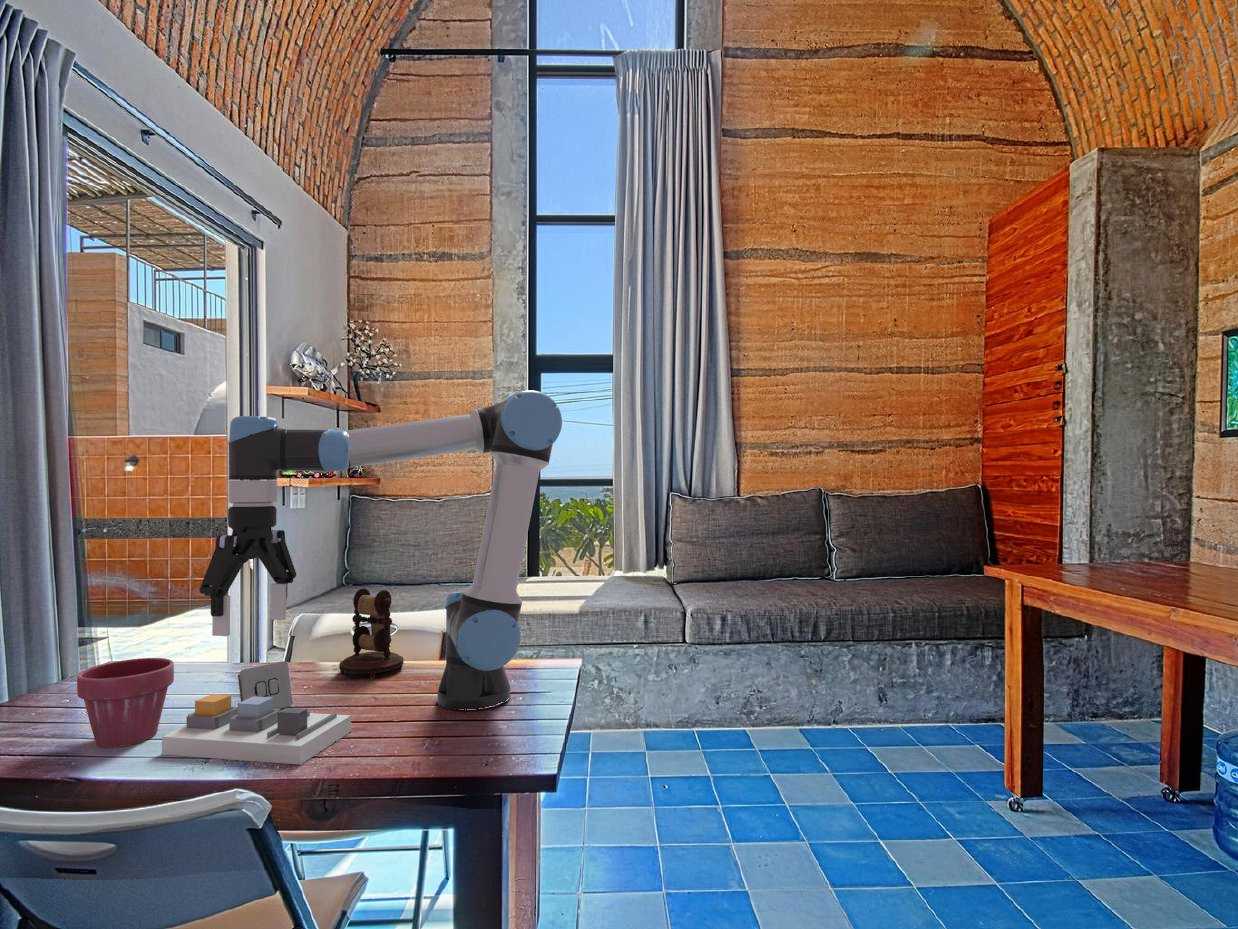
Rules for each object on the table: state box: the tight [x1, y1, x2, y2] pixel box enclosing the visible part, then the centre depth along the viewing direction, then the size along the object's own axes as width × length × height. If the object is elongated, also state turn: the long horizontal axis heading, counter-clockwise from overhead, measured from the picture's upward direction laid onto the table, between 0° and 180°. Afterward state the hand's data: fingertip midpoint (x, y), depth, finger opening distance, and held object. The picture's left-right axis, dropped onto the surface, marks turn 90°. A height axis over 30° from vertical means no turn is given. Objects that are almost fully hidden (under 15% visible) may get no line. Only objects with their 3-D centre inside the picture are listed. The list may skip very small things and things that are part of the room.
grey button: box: [237, 696, 273, 719], centre depth 124 cm, size 4×4×3 cm
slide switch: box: [277, 707, 308, 735], centre depth 119 cm, size 4×2×4 cm, turn 80°
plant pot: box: [76, 657, 175, 748], centre depth 126 cm, size 14×14×13 cm
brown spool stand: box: [338, 588, 405, 679], centre depth 170 cm, size 15×15×20 cm
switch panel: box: [161, 705, 352, 765], centre depth 123 cm, size 26×15×5 cm, turn 80°
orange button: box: [194, 693, 232, 716], centre depth 125 cm, size 4×4×3 cm
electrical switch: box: [237, 660, 294, 710], centre depth 141 cm, size 9×5×9 cm, turn 141°
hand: (251, 627), depth 121 cm, fingers open, 13 cm apart
